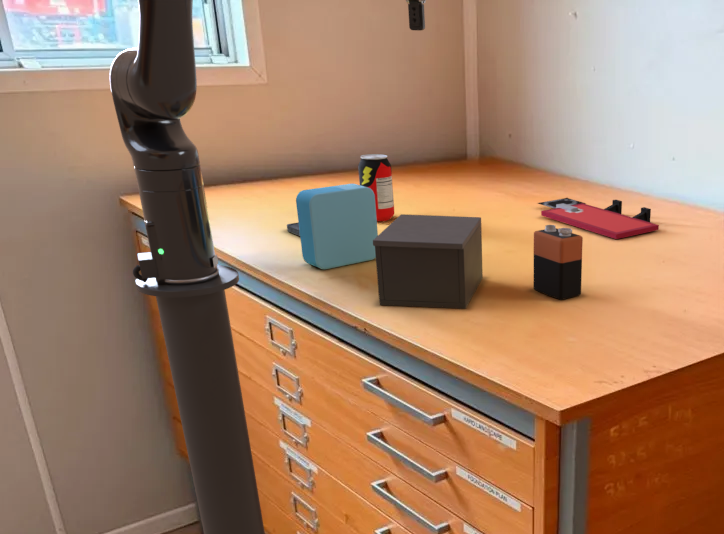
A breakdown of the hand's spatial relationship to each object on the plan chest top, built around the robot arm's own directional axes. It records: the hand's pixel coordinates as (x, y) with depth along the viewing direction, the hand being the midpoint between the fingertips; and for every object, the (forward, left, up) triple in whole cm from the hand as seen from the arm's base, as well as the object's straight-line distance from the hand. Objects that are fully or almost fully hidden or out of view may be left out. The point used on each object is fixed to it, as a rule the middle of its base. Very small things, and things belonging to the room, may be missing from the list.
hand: (417, 30), depth 138 cm
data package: (-16, -3, -35) cm, 39 cm away
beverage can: (-2, +26, -35) cm, 44 cm away
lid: (-7, -24, -26) cm, 36 cm away
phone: (-15, +16, -35) cm, 41 cm away
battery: (+10, -32, -35) cm, 49 cm away
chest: (-7, -24, -35) cm, 43 cm away
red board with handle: (+38, +10, -35) cm, 53 cm away
